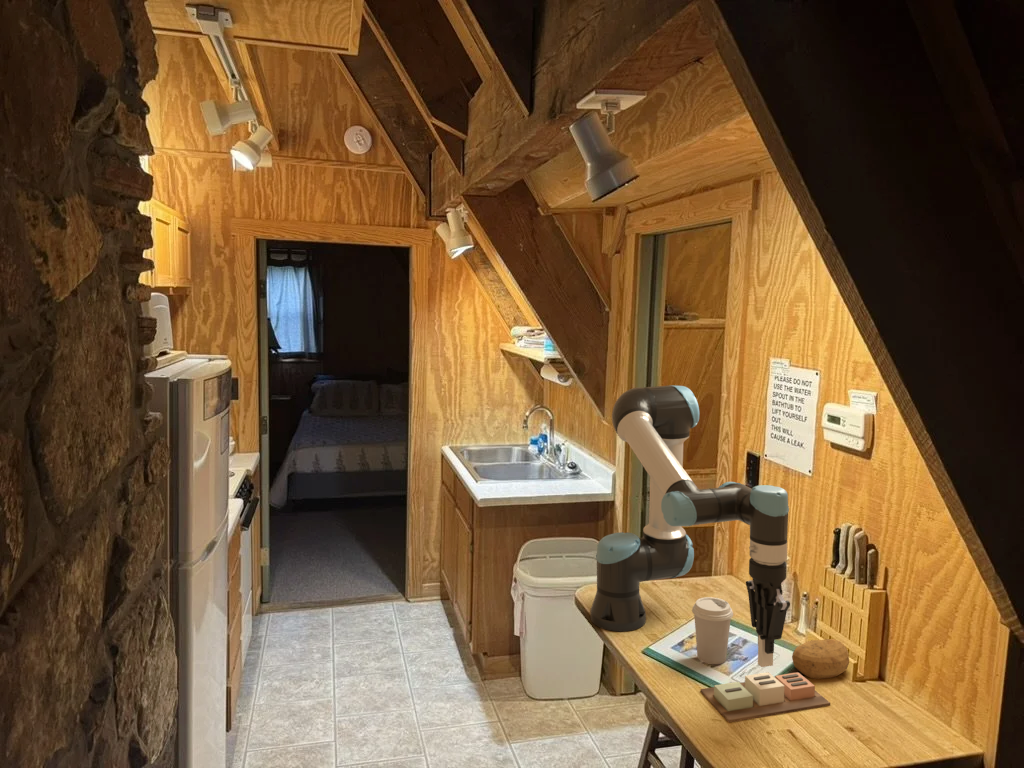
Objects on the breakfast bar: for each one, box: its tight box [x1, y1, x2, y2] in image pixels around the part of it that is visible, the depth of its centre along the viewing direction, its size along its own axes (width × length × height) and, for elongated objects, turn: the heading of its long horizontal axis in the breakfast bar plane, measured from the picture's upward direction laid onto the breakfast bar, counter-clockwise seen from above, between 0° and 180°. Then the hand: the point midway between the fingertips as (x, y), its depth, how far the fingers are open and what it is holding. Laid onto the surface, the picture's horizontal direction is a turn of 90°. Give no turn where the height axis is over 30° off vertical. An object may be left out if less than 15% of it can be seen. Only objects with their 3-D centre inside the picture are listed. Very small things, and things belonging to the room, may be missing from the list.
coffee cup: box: [691, 596, 734, 665], centre depth 172 cm, size 10×10×15 cm
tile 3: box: [774, 671, 816, 701], centre depth 156 cm, size 6×6×4 cm
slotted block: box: [713, 681, 753, 711], centre depth 153 cm, size 6×6×4 cm
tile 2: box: [744, 672, 784, 706], centre depth 154 cm, size 6×6×4 cm
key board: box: [699, 681, 831, 723], centre depth 154 cm, size 12×24×2 cm, turn 103°
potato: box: [791, 638, 850, 679], centre depth 165 cm, size 10×14×8 cm
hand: (765, 664), depth 153 cm, fingers closed
